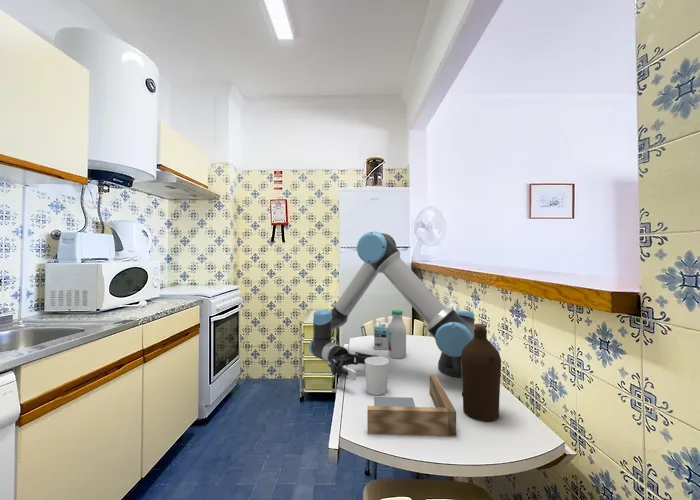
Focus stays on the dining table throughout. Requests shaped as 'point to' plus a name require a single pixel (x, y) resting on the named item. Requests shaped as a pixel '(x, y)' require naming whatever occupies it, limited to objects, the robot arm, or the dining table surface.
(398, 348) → the milk bottle
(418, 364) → the dining table surface
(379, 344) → the light bulb box
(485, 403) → the brown bottle
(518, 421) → the dining table surface
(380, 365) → the white cup
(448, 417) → the corner pen
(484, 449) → the dining table surface
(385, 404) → the slate mat
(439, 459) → the dining table surface
